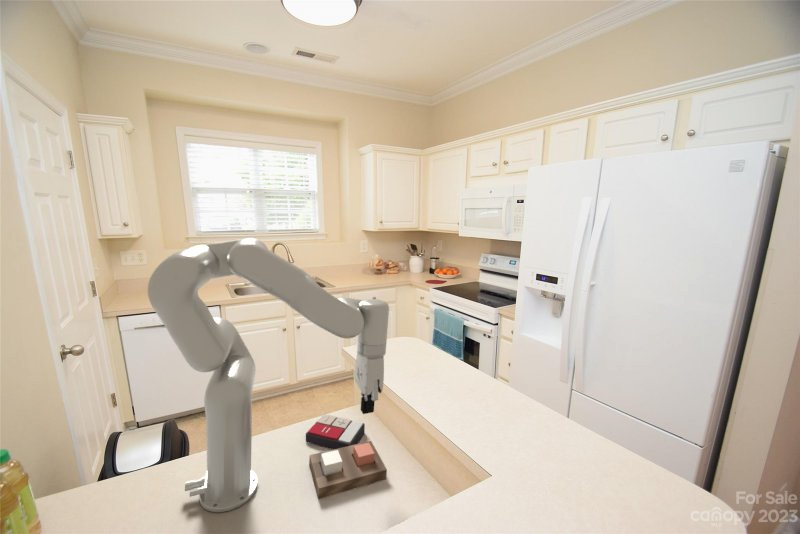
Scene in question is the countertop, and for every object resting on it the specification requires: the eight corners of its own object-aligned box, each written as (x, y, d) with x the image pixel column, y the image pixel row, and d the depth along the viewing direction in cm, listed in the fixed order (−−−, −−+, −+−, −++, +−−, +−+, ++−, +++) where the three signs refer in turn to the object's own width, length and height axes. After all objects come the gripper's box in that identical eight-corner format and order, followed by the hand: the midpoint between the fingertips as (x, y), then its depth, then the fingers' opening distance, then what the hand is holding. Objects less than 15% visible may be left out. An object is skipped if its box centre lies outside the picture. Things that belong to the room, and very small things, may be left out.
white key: (324, 479, 85) (325, 465, 84) (320, 467, 89) (321, 453, 88) (341, 475, 87) (342, 461, 86) (337, 463, 91) (337, 449, 90)
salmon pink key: (357, 470, 89) (358, 457, 88) (352, 459, 93) (353, 446, 92) (373, 466, 91) (374, 453, 90) (367, 455, 95) (368, 442, 94)
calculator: (323, 412, 110) (365, 421, 106) (323, 424, 111) (364, 433, 107) (305, 431, 100) (350, 442, 96) (305, 444, 100) (350, 456, 96)
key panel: (318, 499, 81) (318, 488, 80) (309, 464, 91) (309, 455, 91) (386, 479, 88) (386, 469, 88) (370, 449, 99) (371, 440, 99)
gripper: (349, 337, 92) (345, 399, 94) (368, 360, 78) (363, 431, 81) (374, 335, 95) (370, 395, 98) (396, 357, 82) (390, 425, 84)
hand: (367, 411), depth 89 cm, fingers closed
